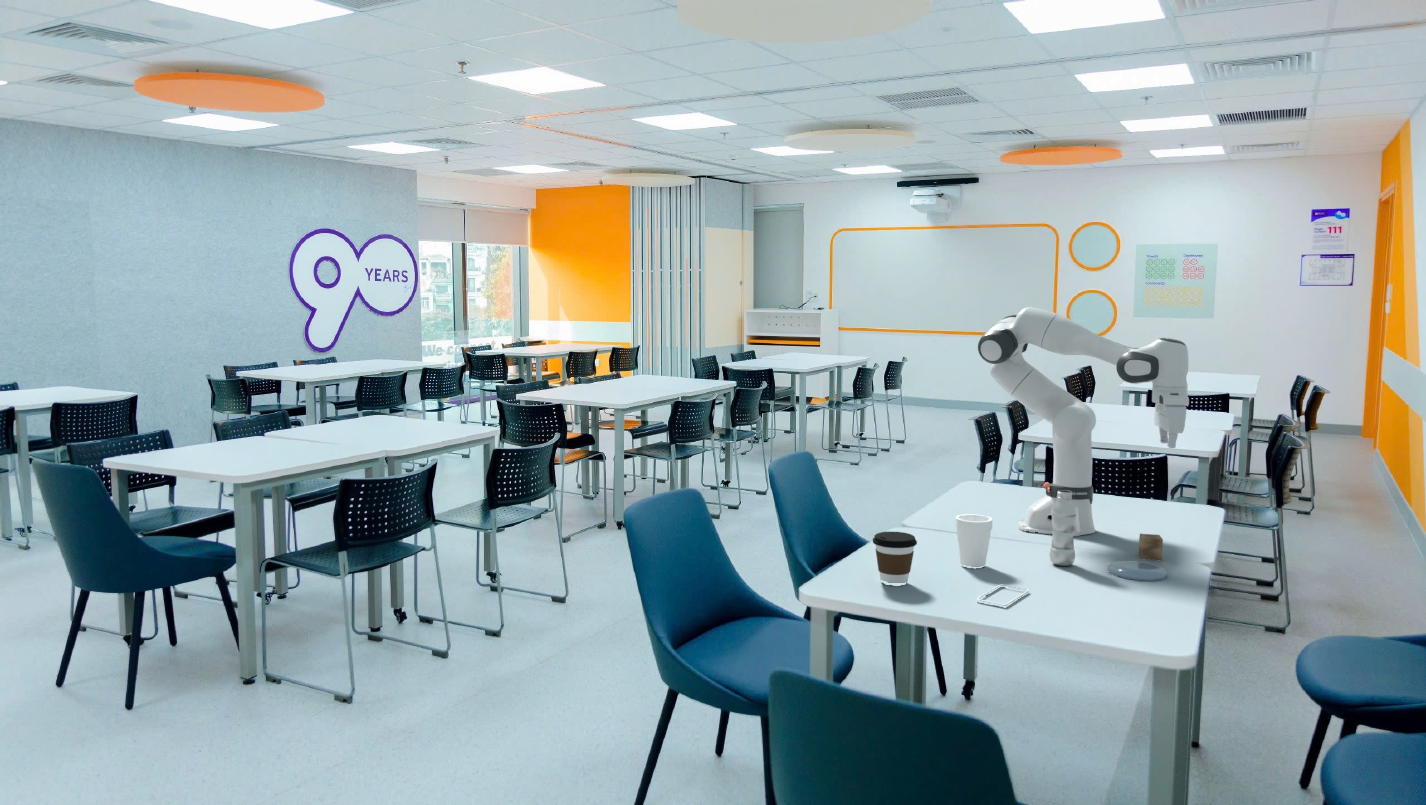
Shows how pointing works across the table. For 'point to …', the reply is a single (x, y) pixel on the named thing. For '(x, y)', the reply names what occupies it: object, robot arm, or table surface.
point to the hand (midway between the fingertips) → (1167, 445)
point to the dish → (1137, 570)
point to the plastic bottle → (1063, 529)
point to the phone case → (1008, 602)
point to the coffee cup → (894, 555)
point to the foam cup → (973, 538)
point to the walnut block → (1150, 547)
